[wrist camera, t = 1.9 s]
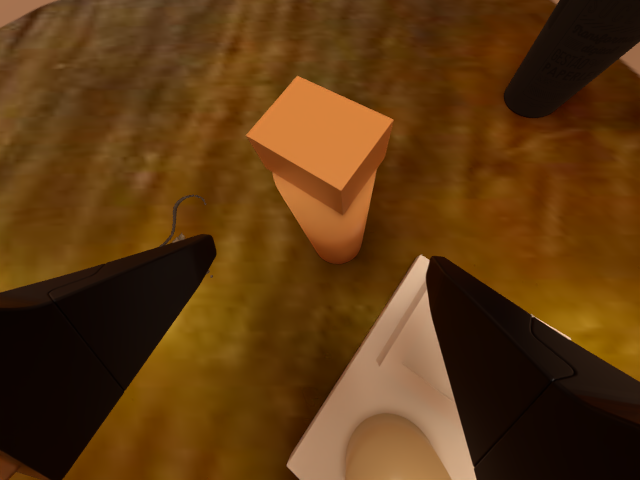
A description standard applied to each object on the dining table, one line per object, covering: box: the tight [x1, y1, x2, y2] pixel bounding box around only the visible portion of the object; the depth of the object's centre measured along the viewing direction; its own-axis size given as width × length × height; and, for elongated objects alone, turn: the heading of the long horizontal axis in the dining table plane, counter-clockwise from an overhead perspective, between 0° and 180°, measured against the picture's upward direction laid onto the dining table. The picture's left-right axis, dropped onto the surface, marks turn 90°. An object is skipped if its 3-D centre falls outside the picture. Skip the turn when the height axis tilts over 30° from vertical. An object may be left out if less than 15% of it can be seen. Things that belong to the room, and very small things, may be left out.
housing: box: [286, 255, 571, 480], centre depth 15 cm, size 18×11×5 cm, turn 144°
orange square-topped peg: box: [246, 76, 394, 264], centre depth 14 cm, size 4×4×14 cm
